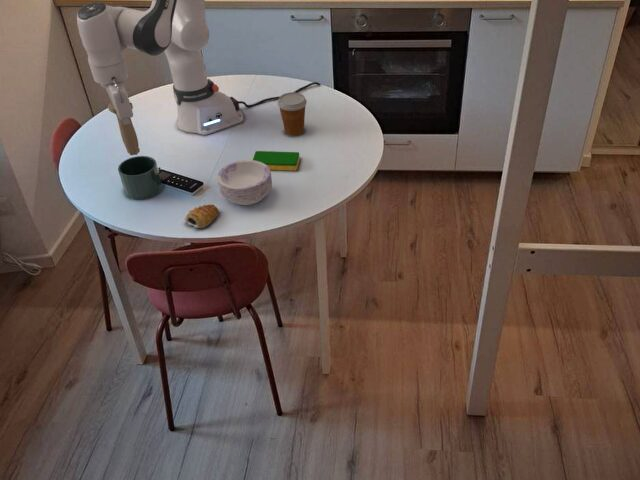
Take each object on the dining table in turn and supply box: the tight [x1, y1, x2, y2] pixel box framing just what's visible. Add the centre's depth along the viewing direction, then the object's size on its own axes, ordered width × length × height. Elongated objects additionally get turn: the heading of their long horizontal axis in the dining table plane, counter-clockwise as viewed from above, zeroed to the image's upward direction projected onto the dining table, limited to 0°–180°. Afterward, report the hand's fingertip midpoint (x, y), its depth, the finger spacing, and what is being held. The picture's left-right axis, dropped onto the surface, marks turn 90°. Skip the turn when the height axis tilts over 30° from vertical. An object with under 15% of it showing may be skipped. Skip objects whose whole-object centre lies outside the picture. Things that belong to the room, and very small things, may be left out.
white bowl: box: [216, 159, 273, 206], centre depth 176 cm, size 15×15×8 cm
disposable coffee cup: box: [277, 91, 308, 137], centre depth 202 cm, size 10×10×12 cm
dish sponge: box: [252, 150, 301, 172], centre depth 191 cm, size 7×14×2 cm, turn 86°
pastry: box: [184, 204, 219, 229], centre depth 169 cm, size 9×7×4 cm
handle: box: [107, 101, 141, 156], centre depth 169 cm, size 5×6×15 cm
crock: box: [117, 155, 163, 200], centre depth 179 cm, size 11×11×8 cm
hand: (124, 119), depth 167 cm, fingers closed on handle, 4 cm apart
